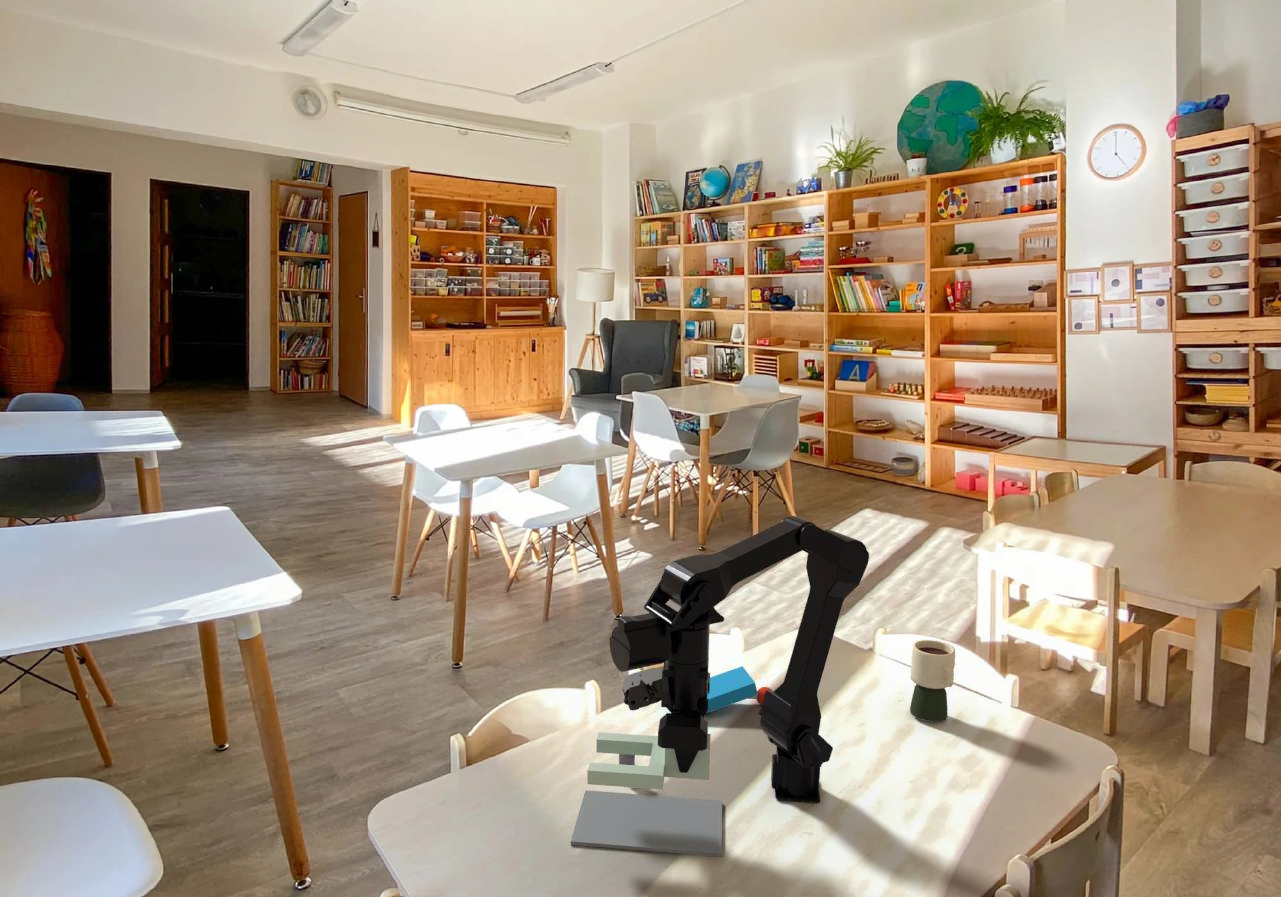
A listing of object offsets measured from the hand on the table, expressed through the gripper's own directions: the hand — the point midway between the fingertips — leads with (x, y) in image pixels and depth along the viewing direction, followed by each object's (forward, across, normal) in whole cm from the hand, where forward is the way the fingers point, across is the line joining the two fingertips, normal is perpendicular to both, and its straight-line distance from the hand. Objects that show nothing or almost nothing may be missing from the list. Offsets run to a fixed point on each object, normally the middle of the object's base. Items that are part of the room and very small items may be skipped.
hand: (684, 763), depth 117 cm
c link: (+1, 0, -5) cm, 5 cm away
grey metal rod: (+9, -11, -9) cm, 17 cm away
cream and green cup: (+10, -37, +41) cm, 56 cm away
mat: (+9, 0, -5) cm, 10 cm away
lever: (+10, -36, +6) cm, 38 cm away
